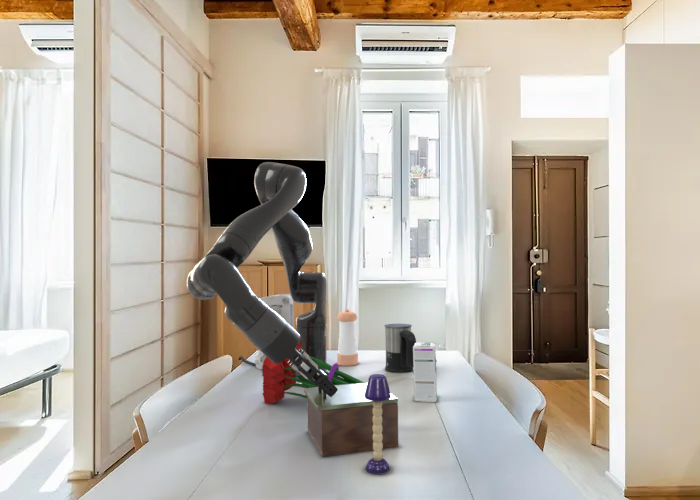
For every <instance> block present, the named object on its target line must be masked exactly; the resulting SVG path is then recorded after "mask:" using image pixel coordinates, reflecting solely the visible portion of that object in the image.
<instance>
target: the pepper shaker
mask: <svg viewBox="0 0 700 500" xmlns="http://www.w3.org/2000/svg"><path fill="white" fill-rule="evenodd" d="M336 317H337V318H336V319H337V320H338V321H339V336H338V342H337V349H338V352H337V354H336V355H337V356H336V357H337V364H338V365H339V366H344V367H347V366H348V367H350V366H356V365H358V364H359V354H358V352H357V351H358V350H357V349H358V343H357V337H356V336H357V335H356V321H357V319H358V316H357V313H356V312H354V311H350V309H349V308H346V309H345V310H344V311H340V312H339V313H338V314H337V316H336Z"/></svg>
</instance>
